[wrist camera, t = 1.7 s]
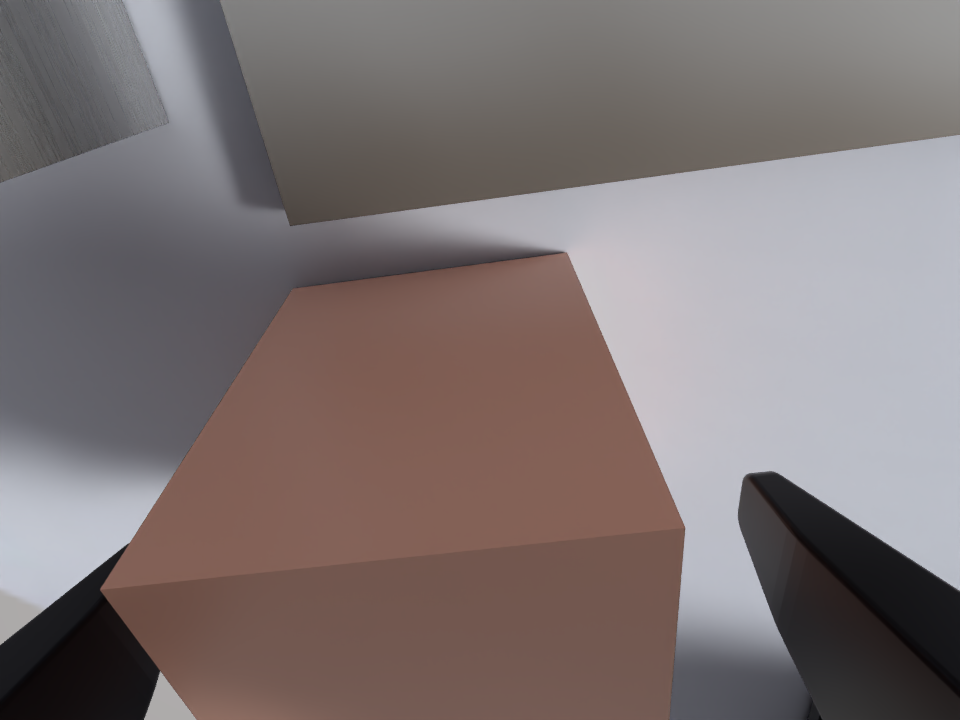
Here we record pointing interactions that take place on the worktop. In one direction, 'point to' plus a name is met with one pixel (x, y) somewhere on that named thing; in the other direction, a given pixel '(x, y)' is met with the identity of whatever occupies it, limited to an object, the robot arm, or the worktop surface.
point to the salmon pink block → (417, 516)
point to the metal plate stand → (576, 91)
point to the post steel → (69, 81)
